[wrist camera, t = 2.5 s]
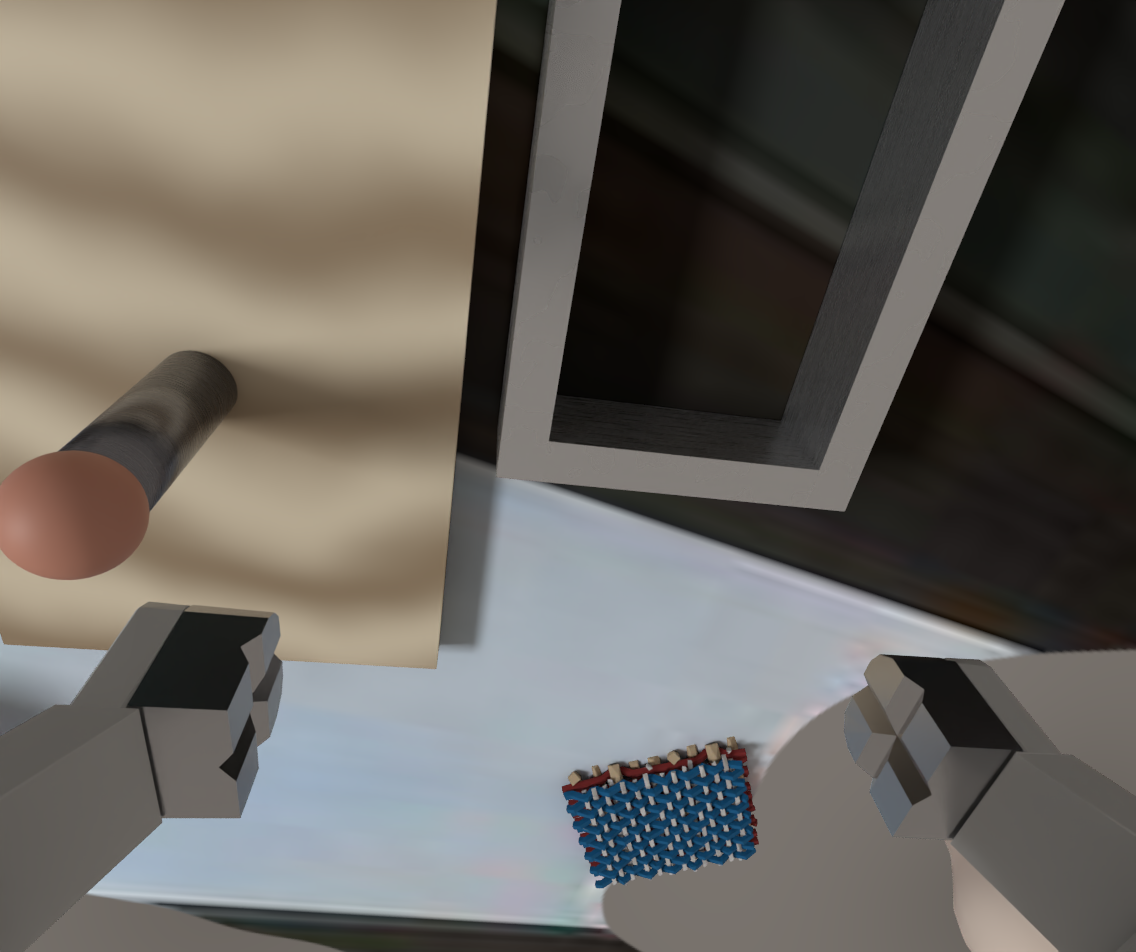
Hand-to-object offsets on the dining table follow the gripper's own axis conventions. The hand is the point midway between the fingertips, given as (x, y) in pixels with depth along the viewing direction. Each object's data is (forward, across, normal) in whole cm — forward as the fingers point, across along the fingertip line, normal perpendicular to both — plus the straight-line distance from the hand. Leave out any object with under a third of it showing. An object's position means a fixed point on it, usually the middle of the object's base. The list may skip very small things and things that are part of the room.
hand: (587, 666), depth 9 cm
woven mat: (+19, -12, +29) cm, 37 cm away
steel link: (+18, -6, -4) cm, 19 cm away
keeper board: (+18, +11, +4) cm, 22 cm away
